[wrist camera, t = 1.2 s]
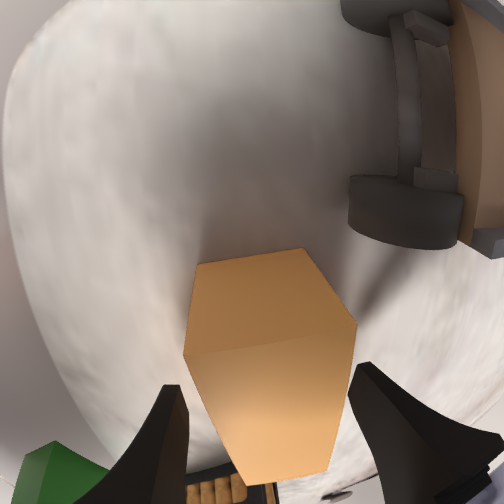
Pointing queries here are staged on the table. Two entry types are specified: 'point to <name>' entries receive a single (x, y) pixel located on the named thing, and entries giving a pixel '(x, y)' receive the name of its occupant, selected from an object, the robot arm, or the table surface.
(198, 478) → the ammunition clip
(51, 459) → the hardback book
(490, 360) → the table surface
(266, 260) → the block
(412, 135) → the dolly
